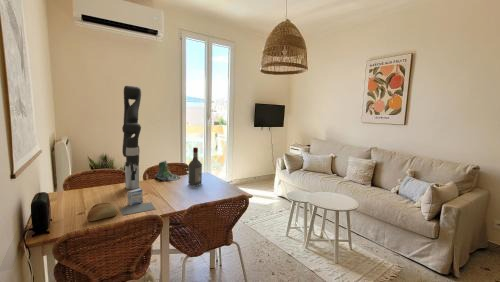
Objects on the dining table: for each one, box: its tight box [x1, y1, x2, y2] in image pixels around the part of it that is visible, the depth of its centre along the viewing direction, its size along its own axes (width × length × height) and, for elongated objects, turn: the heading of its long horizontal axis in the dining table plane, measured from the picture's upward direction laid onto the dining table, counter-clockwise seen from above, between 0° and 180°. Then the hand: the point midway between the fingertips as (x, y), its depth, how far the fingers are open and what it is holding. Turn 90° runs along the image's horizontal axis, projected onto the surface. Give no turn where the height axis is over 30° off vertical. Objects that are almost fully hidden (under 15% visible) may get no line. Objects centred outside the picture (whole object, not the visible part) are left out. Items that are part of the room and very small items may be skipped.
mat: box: [119, 201, 157, 216], centre depth 151 cm, size 12×18×1 cm, turn 125°
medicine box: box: [126, 188, 144, 206], centre depth 157 cm, size 8×4×9 cm, turn 148°
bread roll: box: [86, 202, 118, 222], centre depth 136 cm, size 10×15×8 cm, turn 140°
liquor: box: [187, 146, 203, 186], centre depth 201 cm, size 9×9×30 cm
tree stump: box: [154, 160, 181, 182], centre depth 214 cm, size 18×20×18 cm
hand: (133, 180), depth 162 cm, fingers closed
